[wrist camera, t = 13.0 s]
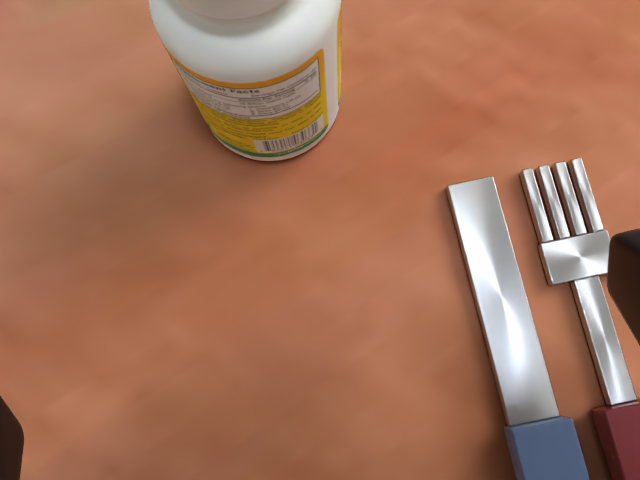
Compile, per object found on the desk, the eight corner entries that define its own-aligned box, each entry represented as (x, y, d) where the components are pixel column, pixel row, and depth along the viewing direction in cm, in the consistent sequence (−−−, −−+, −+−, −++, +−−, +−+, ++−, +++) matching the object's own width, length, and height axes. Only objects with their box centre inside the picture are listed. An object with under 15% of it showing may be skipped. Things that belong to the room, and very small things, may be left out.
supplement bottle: (300, 188, 22) (269, 59, 13) (177, 127, 23) (62, -39, 14) (366, 68, 23) (381, -134, 14) (245, 13, 24) (182, -216, 14)
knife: (615, 609, 19) (631, 624, 18) (553, 622, 19) (565, 638, 18) (494, 177, 22) (502, 168, 21) (441, 189, 22) (446, 179, 21)
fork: (715, 589, 19) (737, 602, 18) (640, 604, 19) (658, 619, 18) (580, 160, 22) (592, 149, 21) (515, 173, 22) (524, 163, 21)
